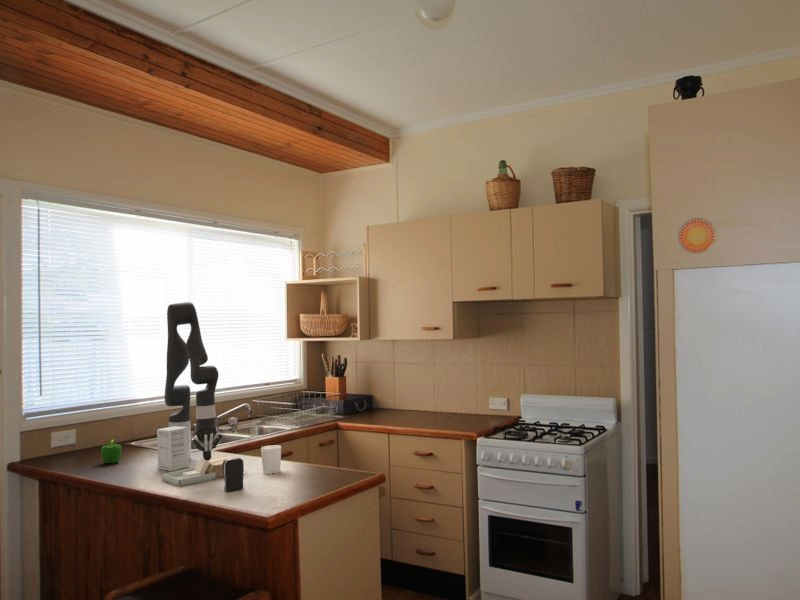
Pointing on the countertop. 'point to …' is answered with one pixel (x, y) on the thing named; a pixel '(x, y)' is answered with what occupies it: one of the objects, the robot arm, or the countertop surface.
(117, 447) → the bell pepper
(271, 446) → the white cup
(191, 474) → the tile front
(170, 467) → the supplement box
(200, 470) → the tile back
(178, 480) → the tray
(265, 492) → the countertop surface
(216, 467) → the tan flat block
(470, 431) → the countertop surface
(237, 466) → the battery charger
